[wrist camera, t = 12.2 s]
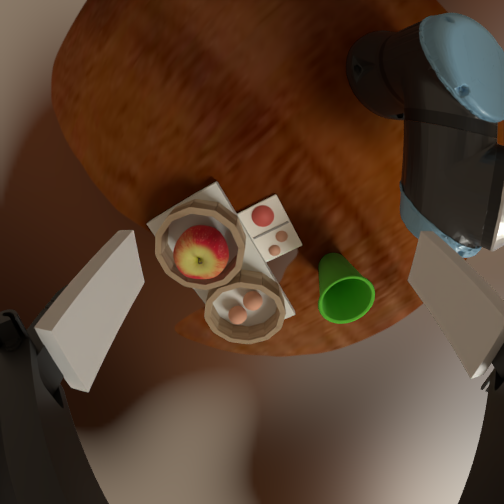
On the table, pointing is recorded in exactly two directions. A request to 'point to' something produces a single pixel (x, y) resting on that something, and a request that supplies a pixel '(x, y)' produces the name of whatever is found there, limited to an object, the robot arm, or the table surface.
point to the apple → (201, 252)
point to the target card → (270, 228)
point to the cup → (343, 290)
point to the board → (250, 260)
